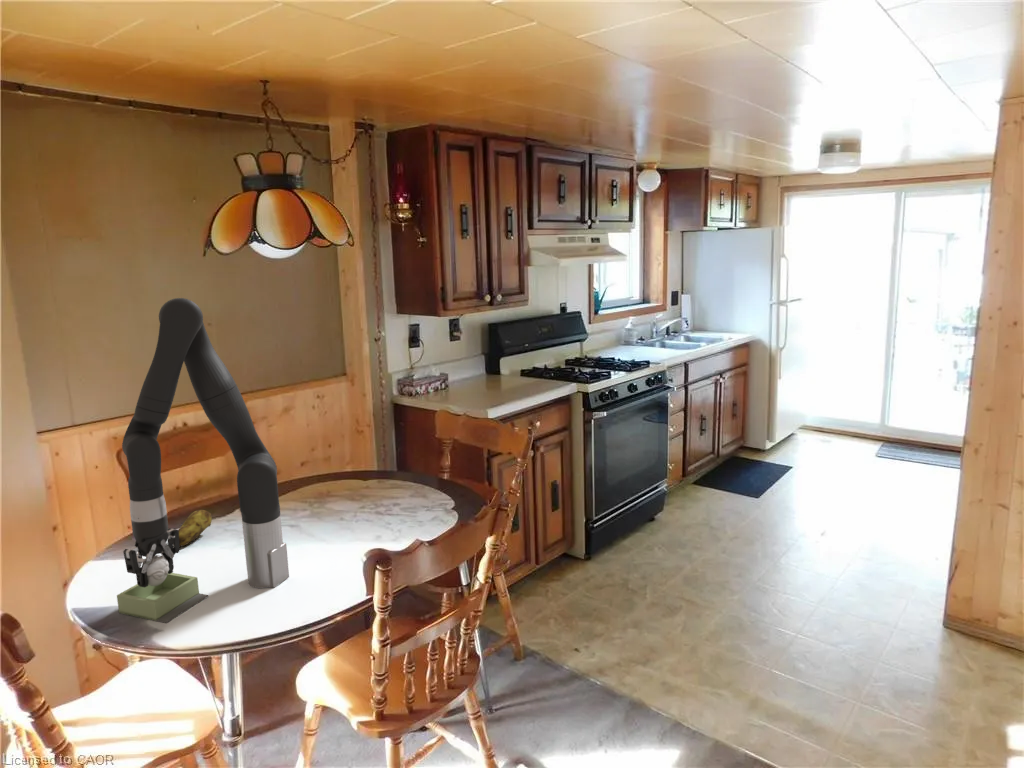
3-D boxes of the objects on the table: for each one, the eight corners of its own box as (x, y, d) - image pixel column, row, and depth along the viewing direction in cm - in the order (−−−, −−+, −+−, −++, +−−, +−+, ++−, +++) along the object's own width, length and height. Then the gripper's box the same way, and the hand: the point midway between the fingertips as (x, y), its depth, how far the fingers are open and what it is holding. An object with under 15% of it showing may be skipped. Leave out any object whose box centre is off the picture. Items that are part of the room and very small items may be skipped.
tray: (208, 596, 168) (206, 579, 167) (166, 623, 156) (164, 605, 155) (163, 587, 172) (161, 570, 172) (119, 613, 160) (116, 595, 160)
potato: (164, 544, 198) (161, 518, 197) (205, 529, 208) (203, 504, 207) (179, 551, 193) (176, 524, 192) (221, 535, 204) (218, 510, 202)
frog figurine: (176, 577, 167) (173, 550, 166) (162, 591, 160) (159, 563, 159) (151, 577, 167) (148, 551, 166) (136, 591, 160) (133, 564, 159)
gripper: (134, 528, 152) (143, 596, 156) (185, 505, 166) (191, 568, 169) (110, 523, 155) (118, 590, 158) (161, 502, 168) (168, 564, 171)
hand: (156, 579), depth 163 cm, fingers closed on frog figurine, 6 cm apart
